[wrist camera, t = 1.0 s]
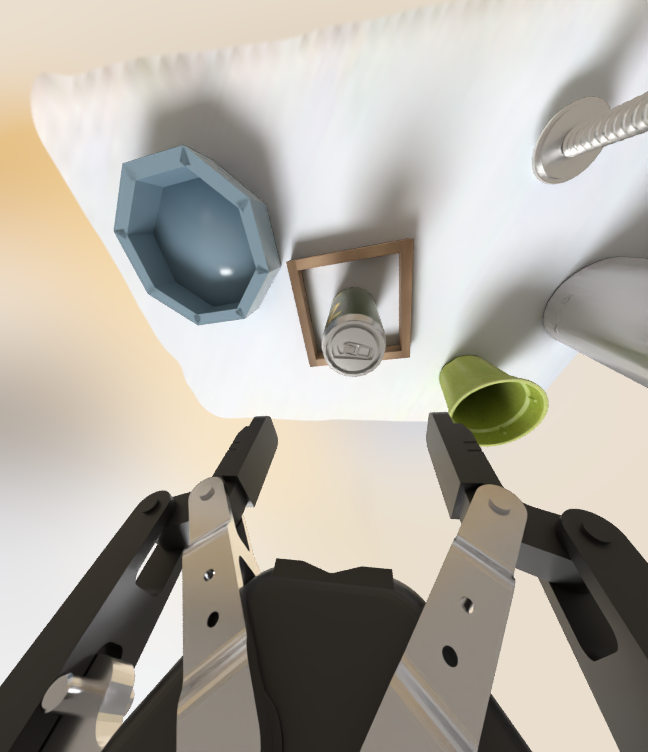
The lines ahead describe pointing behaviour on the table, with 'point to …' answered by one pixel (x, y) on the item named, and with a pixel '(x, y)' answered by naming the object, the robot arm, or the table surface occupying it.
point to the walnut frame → (393, 247)
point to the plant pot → (491, 400)
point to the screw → (585, 135)
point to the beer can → (353, 334)
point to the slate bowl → (195, 236)
